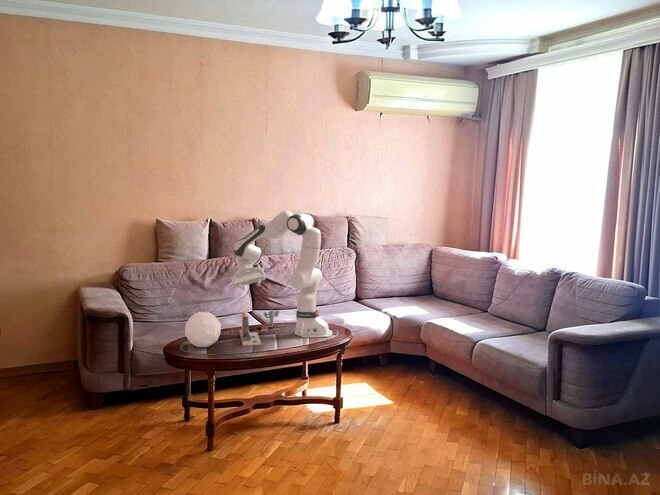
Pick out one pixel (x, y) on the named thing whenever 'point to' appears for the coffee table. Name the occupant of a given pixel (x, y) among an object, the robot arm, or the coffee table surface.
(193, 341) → the geometric polyhedron
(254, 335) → the bolt hole strip
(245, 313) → the post
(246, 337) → the dividers beam
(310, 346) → the coffee table surface
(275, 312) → the mechanical component
